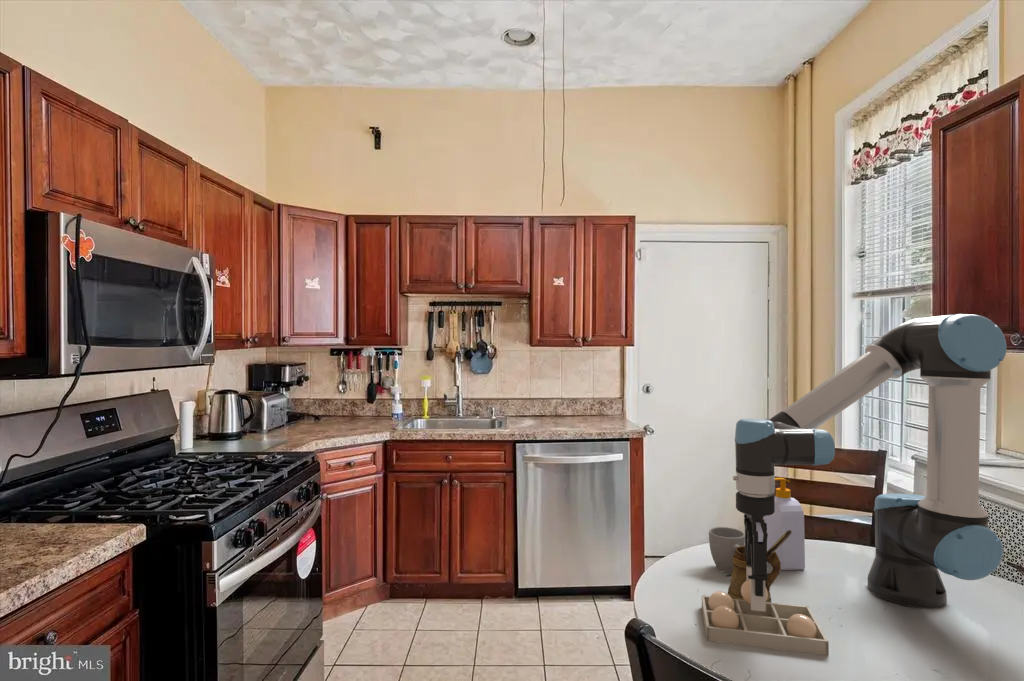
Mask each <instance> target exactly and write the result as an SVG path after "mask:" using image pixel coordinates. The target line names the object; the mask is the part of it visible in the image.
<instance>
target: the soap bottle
mask: <svg viewBox="0 0 1024 681" xmlns="http://www.w3.org/2000/svg"><path fill="white" fill-rule="evenodd" d="M776 481H780V482H779V483H780V484H779V486H780V487H777V488H776V487H775V495H774V497H775V512H774V513H773V514H772V515H769V516H768V515H766V516H764V517H763V519H764V521H765V523H766V524H767V531H766V532H767V534H768V536H767V551H768V550H769V549H770V548H771V547H772V546H773V545H774V544H775V543H776V542H777V540H778V539H779V538H780V537H781V536H782V535H783V534H784V533H785V532H786V531H788V530H791V532H792V533H791V535H790V536H789V537H788V538H787V539H786V540H785V541H784V542H783V543H782V544H781V545H780V546H779V547H778V548H777V549H776V550H775V552H776V554H777V556H778V558H779V560H780V564H781V570H780V571H796V570H800V571H801V570H805V569H806V554H805V553H806V549H805V548H806V547H805V546H806V544H805V515H804V510H803V507H802V505H801V503H800V501H799V500H797V499H796V498H795V497H792V496H791V495H792V494H791V489H789V488H787V487H786V486H787V483H786V482H788V483H791V482H792V481H790V480H789V479H786V478H784V477H775V482H776Z"/></svg>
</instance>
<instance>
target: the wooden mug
mask: <svg viewBox="0 0 1024 681" xmlns="http://www.w3.org/2000/svg"><path fill="white" fill-rule="evenodd" d="M791 533H792V532H791V530H788V531H786V532H785V533H784V534H783V535H782V536H781V537H780V538H779V539H778V540H777V542H776V543H775V544H774V545H773V546H772V547H771V548H770V549H769V550H768V551H767V564H768V563H769V565H771V571H770V572H767V576H768V579H767V581H765V587H766V589H767V592H768V598H767V601H766V602H770V603H772V598H771V592H770V590H771V586H772V584H773V583H774V582H775V581H776V580H777V578H778V576H779V575H780V573H781V571H782V570H781V564H780V560H779V558H778V556H777V554H776V552H775V550H776V549H777V548H778V547H779V546H780V545H781V544H782V543H783V542H784V541H785V540H786V539H787V538H788V537H789V536H790V535H791ZM732 562H733V567H732V573H730V574H731V575H730V581H729V582H730V583H729V586H728V589H727V594H728V595H729V596H730V597H731V598H732V599H741V600H744V599H743V597H742V594H741V587H742V584H743V583H744V582H745V581H746V580H747V578H746V566H749V565H747V564H746V559H745V546H738V547H736V548H735V552H734V554H733V557H732Z"/></svg>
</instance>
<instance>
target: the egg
mask: <svg viewBox="0 0 1024 681" xmlns="http://www.w3.org/2000/svg"><path fill="white" fill-rule="evenodd" d="M765 593H766V601H767V598H768V592H767V589H766V587H765ZM741 594H742V597H743V599H744V600H745V601H746V602H747V603H748V604H750V605H751V579H749V580H746V581H745V582H744V583H743V584H742V587H741Z"/></svg>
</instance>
